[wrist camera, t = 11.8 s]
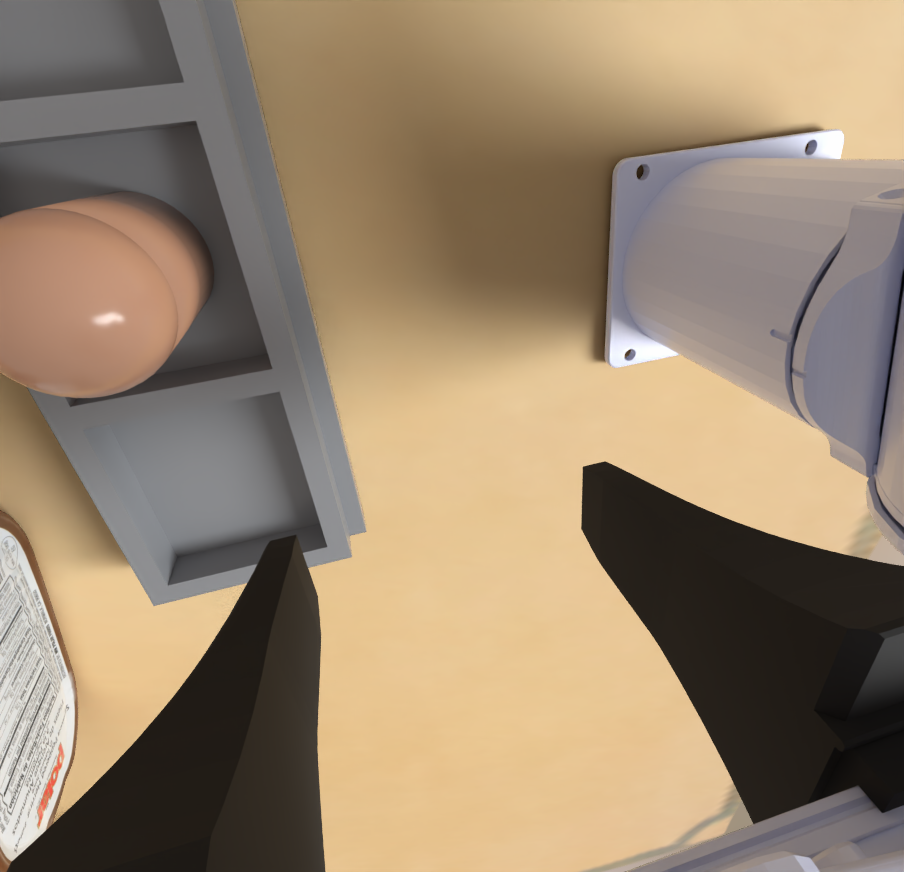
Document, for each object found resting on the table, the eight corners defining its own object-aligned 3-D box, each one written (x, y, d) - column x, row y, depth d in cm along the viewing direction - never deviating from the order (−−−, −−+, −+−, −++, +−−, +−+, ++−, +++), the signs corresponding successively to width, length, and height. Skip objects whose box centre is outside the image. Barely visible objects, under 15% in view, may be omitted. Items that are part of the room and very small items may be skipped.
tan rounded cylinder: (187, 182, 15) (102, 204, 9) (231, 317, 17) (186, 409, 11) (36, 201, 14) (-164, 237, 8) (101, 338, 16) (-23, 447, 10)
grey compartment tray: (150, -340, 11) (107, -472, 9) (363, 515, 23) (369, 556, 21) (-343, -348, 10) (-550, -506, 7) (155, 564, 22) (136, 614, 20)
